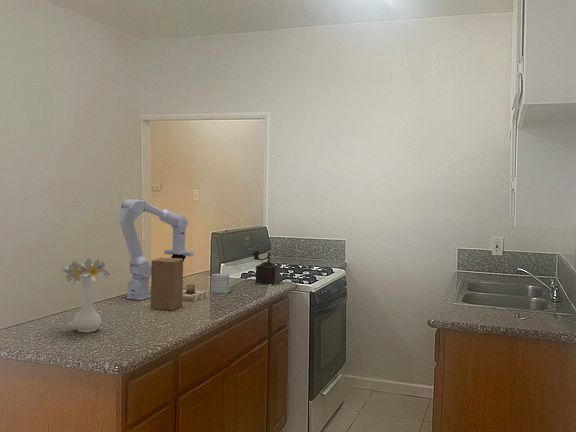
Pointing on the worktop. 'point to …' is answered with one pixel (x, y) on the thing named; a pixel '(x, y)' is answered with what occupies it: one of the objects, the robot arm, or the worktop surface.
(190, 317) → the worktop surface
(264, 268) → the coffee grinder
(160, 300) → the wooden block
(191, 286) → the peg
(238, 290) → the worktop surface
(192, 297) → the board
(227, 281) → the medicine box
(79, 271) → the flower vase
